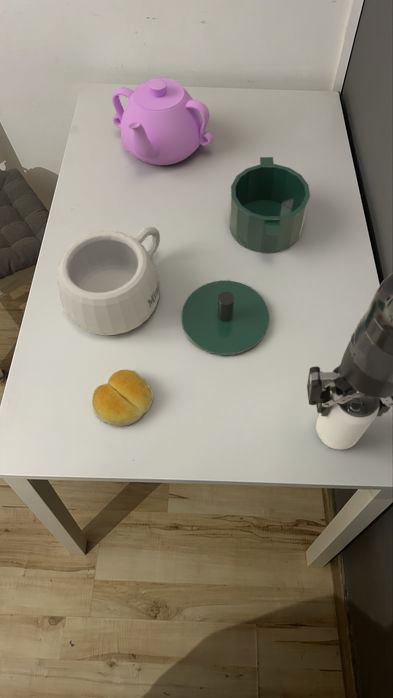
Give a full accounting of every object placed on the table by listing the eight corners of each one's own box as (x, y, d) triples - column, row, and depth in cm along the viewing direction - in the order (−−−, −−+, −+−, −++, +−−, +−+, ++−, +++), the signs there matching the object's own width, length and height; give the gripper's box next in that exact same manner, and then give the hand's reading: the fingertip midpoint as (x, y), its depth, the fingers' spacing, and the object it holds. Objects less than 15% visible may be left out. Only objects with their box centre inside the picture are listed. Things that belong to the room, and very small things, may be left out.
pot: (297, 188, 99) (304, 153, 92) (306, 264, 90) (315, 231, 82) (228, 189, 99) (229, 154, 92) (230, 265, 90) (232, 232, 83)
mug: (117, 358, 81) (106, 325, 72) (45, 308, 86) (26, 271, 78) (197, 273, 89) (195, 235, 81) (126, 232, 95) (118, 191, 86)
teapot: (91, 176, 102) (75, 115, 90) (131, 111, 112) (121, 48, 100) (193, 198, 98) (190, 138, 86) (224, 129, 108) (226, 66, 96)
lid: (265, 283, 88) (269, 261, 82) (271, 356, 81) (275, 337, 75) (182, 284, 88) (181, 262, 83) (180, 357, 81) (178, 337, 76)
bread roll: (84, 404, 77) (78, 393, 74) (128, 367, 80) (124, 355, 77) (118, 440, 74) (113, 430, 71) (163, 400, 77) (160, 390, 74)
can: (312, 445, 73) (328, 414, 62) (318, 405, 76) (334, 369, 65) (357, 455, 72) (381, 425, 61) (361, 414, 75) (385, 379, 64)
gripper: (322, 381, 51) (298, 436, 66) (465, 380, 51) (409, 436, 65) (314, 319, 55) (293, 384, 69) (447, 318, 54) (398, 384, 69)
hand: (349, 409), depth 67 cm, fingers closed on can, 6 cm apart
